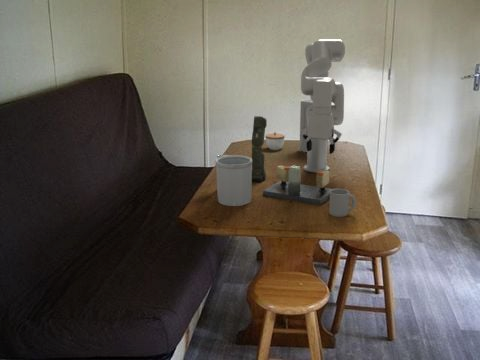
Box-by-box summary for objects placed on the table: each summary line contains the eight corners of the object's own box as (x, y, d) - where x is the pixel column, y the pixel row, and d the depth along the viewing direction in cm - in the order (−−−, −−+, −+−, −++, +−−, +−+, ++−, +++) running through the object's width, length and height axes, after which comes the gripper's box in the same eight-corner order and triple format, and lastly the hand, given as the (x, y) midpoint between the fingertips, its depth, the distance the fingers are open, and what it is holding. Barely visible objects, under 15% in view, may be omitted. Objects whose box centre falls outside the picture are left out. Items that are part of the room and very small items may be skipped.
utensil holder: (240, 209, 220) (239, 166, 215) (209, 202, 228) (208, 161, 223) (259, 199, 232) (259, 157, 227) (229, 193, 240) (228, 153, 235)
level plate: (279, 185, 250) (279, 156, 246) (334, 193, 238) (336, 163, 234) (262, 195, 237) (263, 164, 233) (320, 204, 224) (322, 172, 221)
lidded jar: (275, 152, 310) (275, 135, 307) (261, 148, 317) (261, 132, 314) (288, 148, 317) (288, 132, 314) (274, 145, 324) (274, 129, 321)
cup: (327, 210, 218) (328, 188, 215) (353, 210, 218) (355, 188, 215) (330, 217, 211) (331, 194, 208) (357, 217, 211) (358, 194, 208)
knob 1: (276, 181, 247) (277, 163, 245) (282, 180, 248) (282, 162, 246) (284, 186, 240) (285, 167, 238) (290, 185, 241) (290, 167, 239)
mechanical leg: (262, 183, 250) (265, 115, 249) (246, 182, 252) (249, 115, 250) (267, 181, 264) (270, 117, 262) (252, 181, 265) (254, 117, 263)
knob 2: (323, 186, 240) (323, 167, 237) (329, 187, 238) (329, 168, 236) (316, 191, 233) (316, 172, 231) (322, 192, 232) (322, 173, 229)
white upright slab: (301, 146, 322) (302, 97, 314) (327, 147, 319) (329, 98, 310) (297, 154, 304) (298, 102, 296) (325, 155, 301) (327, 103, 293)
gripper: (298, 110, 228) (297, 151, 232) (339, 113, 220) (337, 156, 224) (305, 107, 234) (304, 147, 239) (345, 110, 226) (343, 152, 231)
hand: (320, 151), depth 232 cm, fingers open, 9 cm apart
